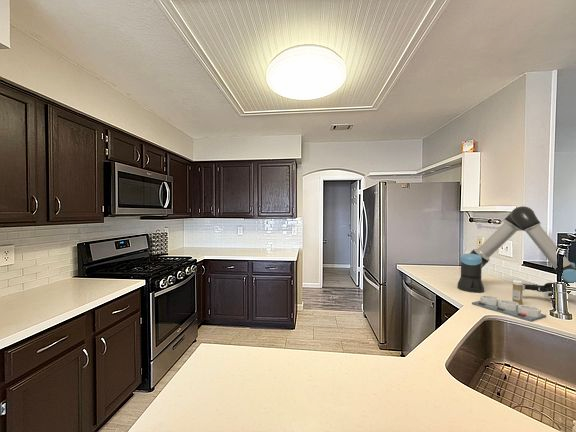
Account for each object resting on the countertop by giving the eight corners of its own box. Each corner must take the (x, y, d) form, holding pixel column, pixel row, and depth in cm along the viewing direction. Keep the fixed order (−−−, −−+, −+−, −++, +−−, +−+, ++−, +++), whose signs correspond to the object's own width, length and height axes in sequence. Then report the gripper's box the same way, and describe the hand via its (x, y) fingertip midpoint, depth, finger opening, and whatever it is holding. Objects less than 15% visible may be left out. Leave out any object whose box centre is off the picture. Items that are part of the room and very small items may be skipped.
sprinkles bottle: (524, 305, 153) (525, 281, 153) (518, 306, 152) (518, 282, 152) (516, 303, 158) (516, 279, 157) (509, 303, 157) (510, 280, 156)
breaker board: (471, 304, 154) (471, 297, 154) (487, 300, 161) (487, 294, 161) (531, 321, 130) (531, 313, 130) (546, 317, 137) (546, 309, 137)
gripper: (582, 301, 151) (555, 305, 145) (530, 289, 175) (506, 291, 169) (582, 288, 151) (556, 290, 145) (531, 277, 175) (506, 279, 169)
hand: (529, 291), depth 157 cm, fingers open, 13 cm apart
